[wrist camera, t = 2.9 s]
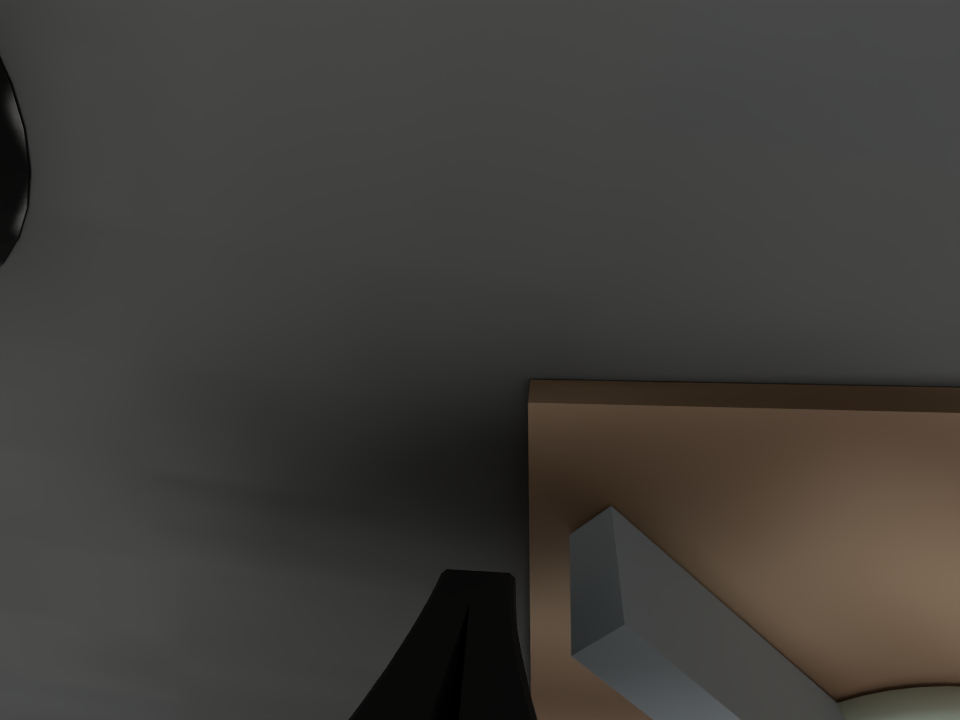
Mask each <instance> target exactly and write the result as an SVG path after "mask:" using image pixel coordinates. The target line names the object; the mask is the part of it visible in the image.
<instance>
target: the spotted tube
mask: <svg viewBox="0 0 960 720" xmlns="http://www.w3.org/2000/svg"><path fill="white" fill-rule="evenodd" d="M28 180H29V167H28V159H27V151H26V144H25V136H24V129H23V125H22V122H21V119H20V115H19V112H18V109H17V105H16V102H15V98H14V95H13V92H12V88H11V85H10V82H9V80H8V78H7V76H6V73H5V71H4V69H3V67H2V65H1V63H0V265H1V264H2V263H3V262H4V260H5V258H6V257H7V255H8V254H9V252H10V250H11V249H12V247H13V246H14V244H15V242H16V241H17V239H18V236H19V233H20V229H21V226H22V222H23V219H24V216H25V212H26V209H27V196H28Z"/></svg>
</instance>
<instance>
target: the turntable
mask: <svg viewBox="0 0 960 720" xmlns="http://www.w3.org/2000/svg"><path fill="white" fill-rule="evenodd" d="M569 544H570V611H571V656H572V657H573V658H574V659H576V660H577V661H578V662H579V663H581V664H582V665H583V666H585V667H586V668H587V669H588V670H590V671H591V672H592V673H594V674H595V675H596V676H597V677H599V678H600V679H601V680H603V681H604V682H605V683H606V684H608V685H609V686H610V687H612V688H613V689H614V690H615V691H617V692H618V693H619V694H621V695H622V696H623V697H624V698H626V699H627V700H628V701H630V702H631V703H632V704H633V705H635V706H636V707H637V708H639V709H640V710H641V711H642V712H644V713H645V714H646V715H648V716H649V717H650V718H651V719H653V720H960V687H956V686H937V687H916V688H907V689H899V690H890V691H885V692H880V693H874V694H869V695H864V696H860V697H857V698H853V699H850V700H846V701H843V702H839V703H837V702H835V701H834V700H833V699H832V698H831V697H830V696H829V695H827V694H826V693H825V692H824V691H823V690H822V689H821V688H819V687H818V686H817V685H816V684H815V683H814V682H813V681H811V680H810V679H809V678H808V677H807V676H806V675H804V674H803V673H802V672H801V671H800V670H799V669H798V668H796V667H795V666H794V665H793V664H792V663H791V662H790V661H788V660H787V659H786V658H785V657H784V656H783V655H782V654H780V653H779V652H778V651H777V650H776V649H775V648H774V647H772V646H771V645H770V644H769V643H768V642H767V641H766V640H764V639H763V638H762V637H761V636H760V635H759V634H757V633H756V632H755V631H754V630H753V629H752V628H751V627H749V626H748V625H747V624H746V623H745V622H744V621H743V620H741V619H740V618H739V617H738V616H737V615H736V614H735V613H733V612H732V611H731V610H730V609H729V608H728V607H727V606H725V605H724V604H723V603H722V602H721V601H720V600H718V599H717V598H716V597H715V596H714V595H713V594H712V593H710V592H709V591H708V590H707V589H706V588H705V587H704V586H702V585H701V584H700V583H699V582H698V581H697V580H696V579H694V578H693V577H692V576H691V575H690V574H689V573H688V572H686V571H685V570H684V569H683V568H682V567H681V566H679V565H678V564H677V563H676V562H675V561H674V560H673V559H671V558H670V557H669V556H668V555H667V554H666V553H665V552H663V551H662V550H661V549H660V548H659V547H658V546H657V545H655V544H654V543H653V542H652V541H651V540H650V539H649V538H647V537H646V536H645V535H644V534H643V533H642V532H641V531H639V530H638V529H637V528H636V527H635V526H634V525H632V524H631V523H630V522H629V521H628V520H627V519H626V518H624V517H623V516H622V515H621V514H620V513H619V512H618V511H616V510H615V509H614V508H613V507H612V506H610V507H609V508H607V509H606V510H604V511H603V512H602V513H600V514H599V515H597V516H596V517H594V518H593V519H592V520H590V521H589V522H587V523H586V524H584V525H583V526H582V527H580V528H579V529H577V530H576V531H574V532H573V533H572V534H570V535H569Z"/></svg>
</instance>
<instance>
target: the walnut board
mask: <svg viewBox="0 0 960 720" xmlns="http://www.w3.org/2000/svg"><path fill="white" fill-rule="evenodd" d="M528 459H529V558H530V656H531V698H532V702H533V705H534V709H535V713H536V716H537V720H653V719H651V718H650V717H649V716H648V715H646V714H645V713H644V712H642V711H641V710H640V709H639V708H637V707H636V706H635V705H633V704H632V703H631V702H630V701H628V700H627V699H626V698H624V697H623V696H622V695H621V694H619V693H618V692H617V691H615V690H614V689H613V688H612V687H610V686H609V685H608V684H606V683H605V682H604V681H603V680H601V679H600V678H599V677H597V676H596V675H595V674H594V673H592V672H591V671H590V670H588V669H587V668H586V667H585V666H583V665H582V664H581V663H579V662H578V661H577V660H576V659H574V658H573V657H572V656H571V611H570V544H569V535H570V534H572V533H573V532H574V531H576V530H577V529H579V528H580V527H582V526H583V525H584V524H586V523H587V522H589V521H590V520H592V519H593V518H594V517H596V516H597V515H599V514H600V513H602V512H603V511H604V510H606V509H607V508H609V507H610V506H612V507H613V508H614V509H615V510H616V511H618V512H619V513H620V514H621V515H622V516H623V517H624V518H626V519H627V520H628V521H629V522H630V523H631V524H632V525H634V526H635V527H636V528H637V529H638V530H639V531H641V532H642V533H643V534H644V535H645V536H646V537H647V538H649V539H650V540H651V541H652V542H653V543H654V544H655V545H657V546H658V547H659V548H660V549H661V550H662V551H663V552H665V553H666V554H667V555H668V556H669V557H670V558H671V559H673V560H674V561H675V562H676V563H677V564H678V565H679V566H681V567H682V568H683V569H684V570H685V571H686V572H688V573H689V574H690V575H691V576H692V577H693V578H694V579H696V580H697V581H698V582H699V583H700V584H701V585H702V586H704V587H705V588H706V589H707V590H708V591H709V592H710V593H712V594H713V595H714V596H715V597H716V598H717V599H718V600H720V601H721V602H722V603H723V604H724V605H725V606H727V607H728V608H729V609H730V610H731V611H732V612H733V613H735V614H736V615H737V616H738V617H739V618H740V619H741V620H743V621H744V622H745V623H746V624H747V625H748V626H749V627H751V628H752V629H753V630H754V631H755V632H756V633H757V634H759V635H760V636H761V637H762V638H763V639H764V640H766V641H767V642H768V643H769V644H770V645H771V646H772V647H774V648H775V649H776V650H777V651H778V652H779V653H780V654H782V655H783V656H784V657H785V658H786V659H787V660H788V661H790V662H791V663H792V664H793V665H794V666H795V667H796V668H798V669H799V670H800V671H801V672H802V673H803V674H804V675H806V676H807V677H808V678H809V679H810V680H811V681H813V682H814V683H815V684H816V685H817V686H818V687H819V688H821V689H822V690H823V691H824V692H825V693H826V694H827V695H829V696H830V697H831V698H832V699H833V700H834V701H835V702H837V703H839V702H843V701H846V700H850V699H853V698H857V697H860V696H864V695H869V694H874V693H880V692H885V691H890V690H899V689H907V688H916V687H937V686H956V687H960V388H952V387H899V386H846V385H793V384H740V383H687V382H635V381H582V380H530V388H529V397H528Z"/></svg>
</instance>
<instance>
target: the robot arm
mask: <svg viewBox="0 0 960 720" xmlns="http://www.w3.org/2000/svg"><path fill="white" fill-rule="evenodd" d="M349 720H537V716H536V713H535V709H534V705H533V702H532V698H531V694H530V690H529V686H528V682H527V677H526V672H525V668H524V663H523V659H522V654H521V649H520V643H519V638H518V631H517V621H516V584H515V577H513V576H512V575H511V574H510V573H501V572H484V571H468V570H451V569H447V570H445V571H444V572H443V573H442V574H441V576H440V578H439V580H438V582H437V584H436V586H435V588H434V590H433V592H432V594H431V596H430V597H429V599H428V601H427V603H426V605H425V607H424V608H423V610H422V612H421V613H420V615H419V617H418V619H417V620H416V622H415V624H414V625H413V627H412V629H411V630H410V632H409V634H408V635H407V637H406V638H405V640H404V641H403V643H402V644H401V646H400V648H399V649H398V651H397V652H396V654H395V655H394V657H393V658H392V660H391V662H390V663H389V665H388V666H387V668H386V669H385V670H384V672H383V673H382V675H381V676H380V678H379V679H378V680H377V682H376V683H375V684H374V686H373V687H372V689H371V690H370V691H369V693H368V694H367V696H366V697H365V698H364V700H363V701H362V703H361V704H360V705H359V707H358V708H357V709H356V711H355V712H354V713H353V715H352V716H351V717H350V719H349Z"/></svg>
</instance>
